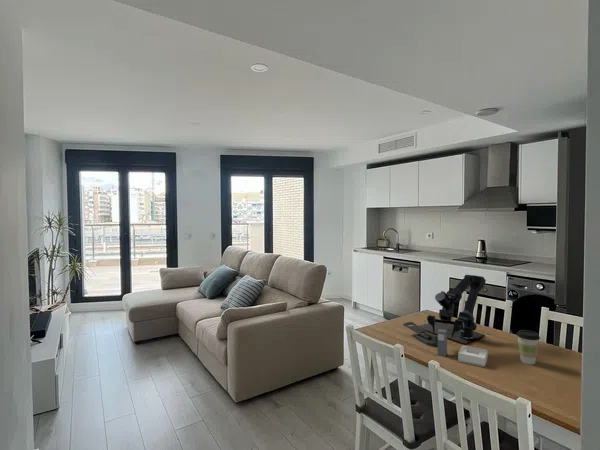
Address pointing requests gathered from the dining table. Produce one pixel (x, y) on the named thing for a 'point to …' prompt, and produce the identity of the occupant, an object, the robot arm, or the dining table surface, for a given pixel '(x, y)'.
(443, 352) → the bracket post
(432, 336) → the zipper pull
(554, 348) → the dining table surface
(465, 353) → the block
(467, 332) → the robot arm
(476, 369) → the dining table surface
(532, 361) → the coffee cup
